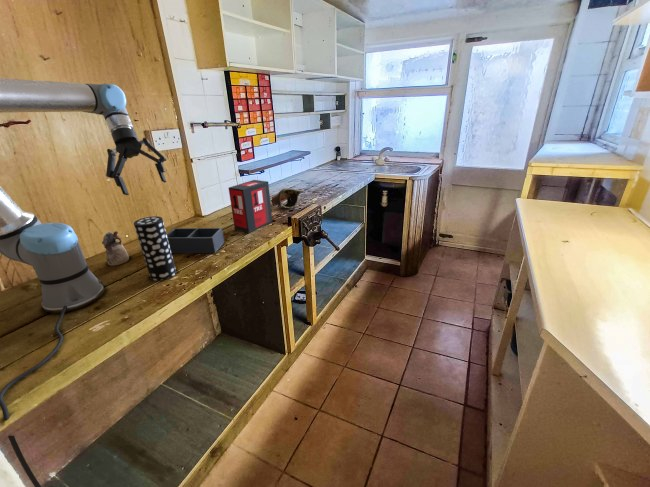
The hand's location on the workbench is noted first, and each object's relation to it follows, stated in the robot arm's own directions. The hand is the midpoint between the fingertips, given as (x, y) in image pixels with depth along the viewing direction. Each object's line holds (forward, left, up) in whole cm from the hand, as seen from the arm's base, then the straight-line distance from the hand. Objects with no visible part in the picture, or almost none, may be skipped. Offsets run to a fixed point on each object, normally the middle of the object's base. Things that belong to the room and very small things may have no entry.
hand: (145, 188), depth 111 cm
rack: (+8, -9, -27) cm, 30 cm away
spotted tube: (-14, -7, -27) cm, 32 cm away
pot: (+63, -38, -27) cm, 79 cm away
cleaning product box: (+33, -27, -27) cm, 51 cm away
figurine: (-4, +16, -27) cm, 32 cm away
